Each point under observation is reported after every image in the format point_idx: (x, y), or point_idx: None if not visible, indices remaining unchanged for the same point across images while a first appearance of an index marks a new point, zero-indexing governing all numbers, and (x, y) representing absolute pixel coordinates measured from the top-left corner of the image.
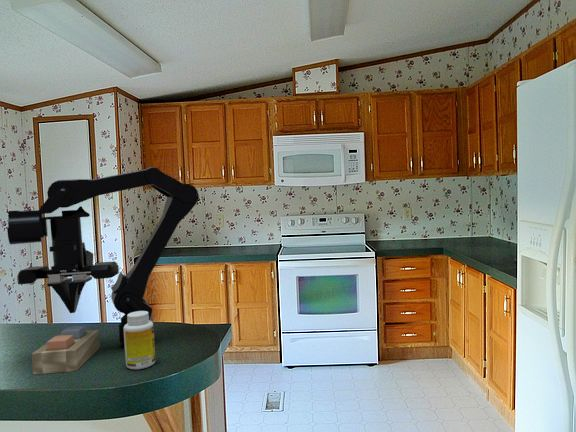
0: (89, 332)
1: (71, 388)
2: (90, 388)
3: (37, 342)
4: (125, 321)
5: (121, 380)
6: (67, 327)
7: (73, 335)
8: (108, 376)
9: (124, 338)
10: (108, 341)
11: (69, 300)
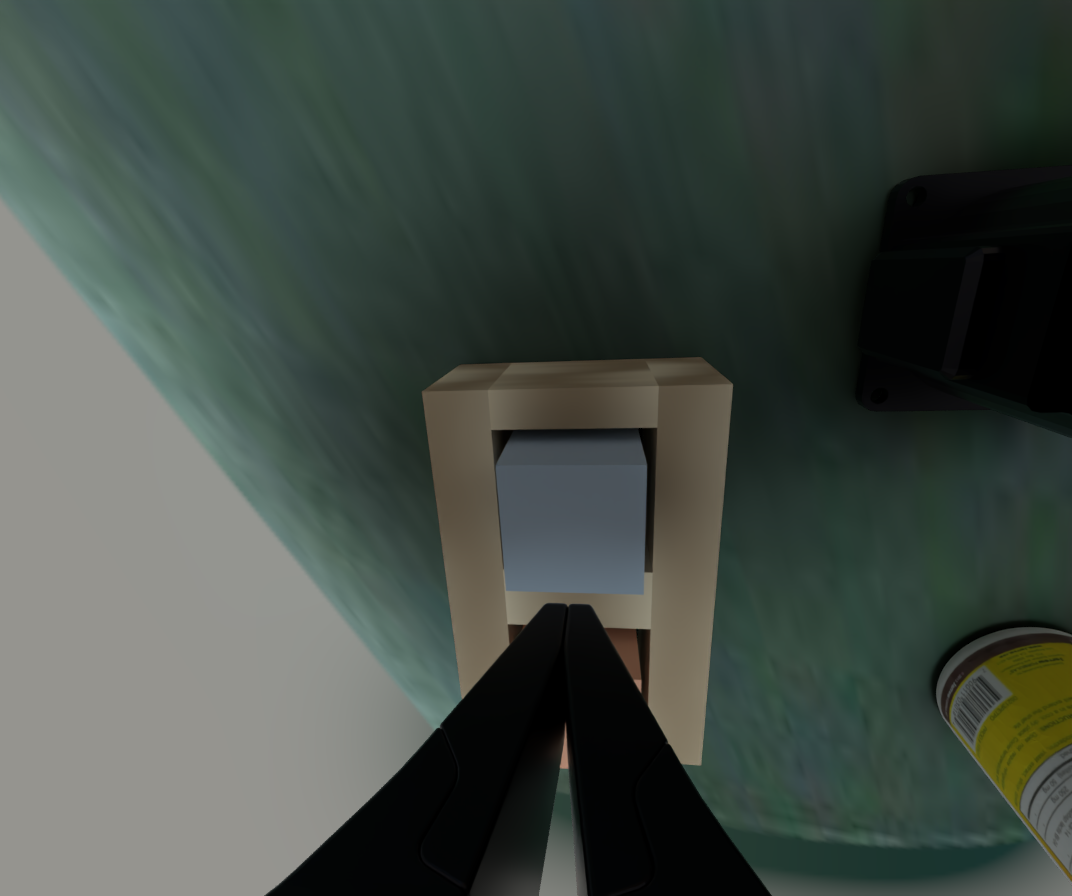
0: (670, 441)
1: (722, 812)
2: (800, 829)
3: (163, 133)
4: (1057, 420)
5: (919, 801)
6: (499, 486)
7: (640, 675)
8: (853, 755)
9: (1062, 871)
10: (728, 214)
11: (544, 805)
